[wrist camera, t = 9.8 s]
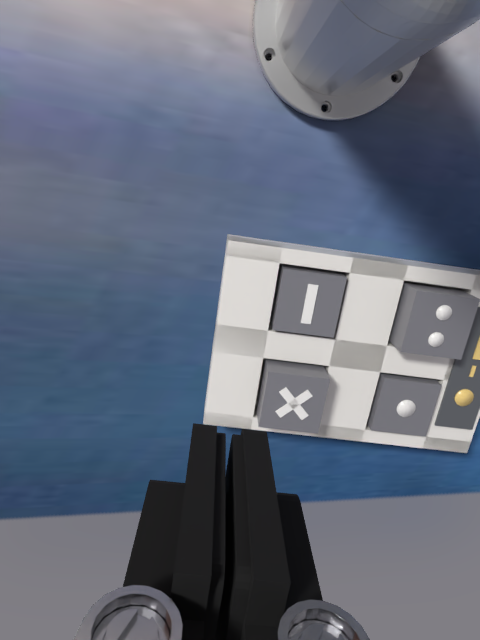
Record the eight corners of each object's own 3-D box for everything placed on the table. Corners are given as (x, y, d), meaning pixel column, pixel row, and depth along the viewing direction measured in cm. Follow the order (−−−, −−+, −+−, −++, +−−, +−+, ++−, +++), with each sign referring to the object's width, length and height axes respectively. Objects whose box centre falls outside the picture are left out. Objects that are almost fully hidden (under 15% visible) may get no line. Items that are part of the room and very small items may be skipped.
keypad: (227, 234, 37) (227, 240, 34) (500, 272, 39) (528, 282, 35) (204, 404, 42) (202, 425, 38) (448, 431, 44) (468, 455, 40)
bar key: (279, 261, 37) (283, 269, 34) (337, 269, 37) (347, 277, 34) (269, 318, 39) (273, 330, 36) (325, 325, 39) (334, 338, 36)
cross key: (265, 357, 38) (268, 372, 35) (322, 364, 38) (330, 379, 35) (256, 408, 40) (258, 427, 37) (311, 415, 40) (318, 434, 37)
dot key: (373, 364, 40) (385, 378, 37) (426, 370, 41) (442, 385, 38) (360, 412, 42) (371, 431, 39) (412, 418, 42) (426, 437, 39)
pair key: (401, 281, 36) (417, 290, 33) (460, 289, 37) (481, 299, 34) (387, 338, 38) (400, 352, 35) (443, 345, 38) (461, 360, 35)
